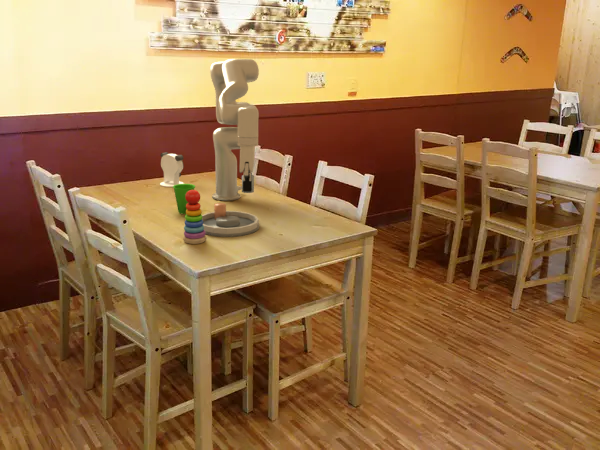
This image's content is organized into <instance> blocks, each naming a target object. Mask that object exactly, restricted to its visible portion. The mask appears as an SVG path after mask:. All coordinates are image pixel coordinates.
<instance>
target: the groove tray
mask: <svg viewBox="0 0 600 450" xmlns="http://www.w3.org/2000/svg"><path fill="white" fill-rule="evenodd" d="M201 215H202V220H203V226H204V230H205V232H206V234H205V236H206V235H207V236H213V237H220V238H221V237H222V238H230V237H231V238H235V237H243V236H247V235H251V234H253V233H256V232H258V231H259V230H260V221H259V220H260V219H259V218H258V216H257V215H255V214H252V213H250V212H245V211H237V210H226V216H221V217H218V218H216V220H215V219H214V211H211V212H207V213H204V214H201Z"/></svg>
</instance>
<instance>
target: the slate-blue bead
mask: <svg viewBox="0 0 600 450" xmlns="http://www.w3.org/2000/svg"><path fill="white" fill-rule="evenodd" d="M243 175H244V174H243ZM243 175H241V186H242V189H241V192H242V193H244V194H252V193H254V192H255V175H254V174H252V175H251V181H252V191H251V192H244V191H243Z"/></svg>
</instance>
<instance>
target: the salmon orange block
mask: <svg viewBox="0 0 600 450" xmlns="http://www.w3.org/2000/svg"><path fill="white" fill-rule="evenodd" d="M213 209H214V210H213V212H214V219H215V220H216V218H218V217H221V216H226V211H227V204H226V203H225V202H216V203H214V206H213Z"/></svg>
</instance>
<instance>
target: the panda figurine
mask: <svg viewBox="0 0 600 450" xmlns="http://www.w3.org/2000/svg"><path fill="white" fill-rule="evenodd" d="M160 157H161V159H160V167H161V169H162V171H163V181H162V182H160V183H159V185H160V186H161V187H165V188H173V186H174V185H177V184H185V182H183V181H180V178H181V176H182V174H181V172H182V171H183V169H184V162H183V160H184V156H183V155H182V154H176V153H169V152H168V151H167V152H162V153H160Z"/></svg>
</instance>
